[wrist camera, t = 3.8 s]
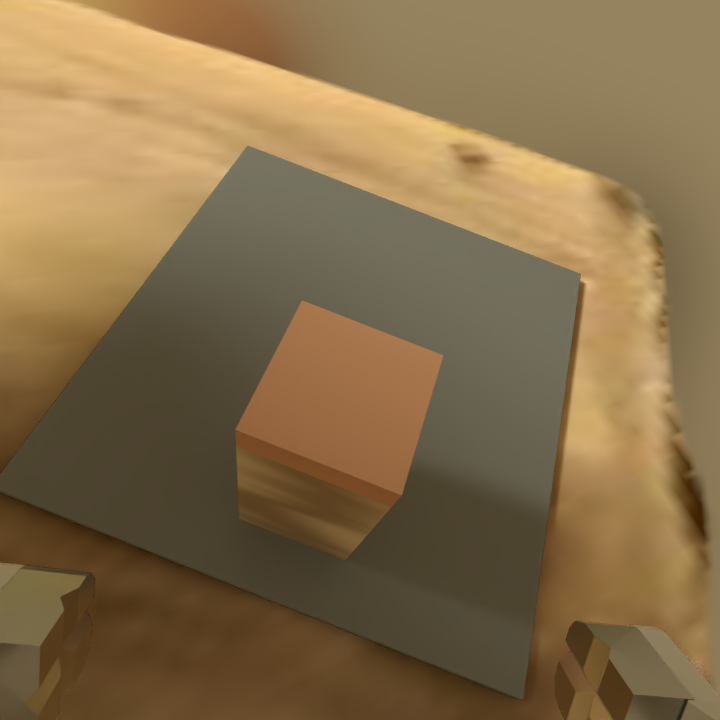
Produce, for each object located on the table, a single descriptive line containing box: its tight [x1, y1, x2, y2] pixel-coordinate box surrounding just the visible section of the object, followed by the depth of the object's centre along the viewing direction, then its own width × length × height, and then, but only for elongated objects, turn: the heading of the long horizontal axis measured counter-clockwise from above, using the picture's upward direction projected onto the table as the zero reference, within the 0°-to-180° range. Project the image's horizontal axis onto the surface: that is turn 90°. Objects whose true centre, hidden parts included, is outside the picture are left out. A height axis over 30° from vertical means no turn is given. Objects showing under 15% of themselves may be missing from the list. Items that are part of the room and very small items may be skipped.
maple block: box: [235, 300, 443, 560], centre depth 16 cm, size 4×4×8 cm
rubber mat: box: [0, 146, 581, 700], centre depth 23 cm, size 19×20×1 cm
